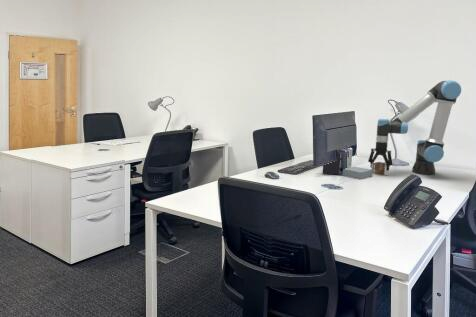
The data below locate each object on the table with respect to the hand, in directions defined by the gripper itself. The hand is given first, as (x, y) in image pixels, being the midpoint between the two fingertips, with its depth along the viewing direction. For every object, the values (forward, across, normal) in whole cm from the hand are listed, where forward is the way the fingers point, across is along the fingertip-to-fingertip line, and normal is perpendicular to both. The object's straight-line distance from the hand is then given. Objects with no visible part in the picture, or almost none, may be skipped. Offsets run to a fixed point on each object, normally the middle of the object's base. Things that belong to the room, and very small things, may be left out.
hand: (379, 173), depth 285 cm
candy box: (+1, -25, -5) cm, 25 cm away
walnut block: (0, 0, 0) cm, 0 cm away
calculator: (0, -21, -27) cm, 34 cm away
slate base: (+1, -6, -18) cm, 19 cm away
